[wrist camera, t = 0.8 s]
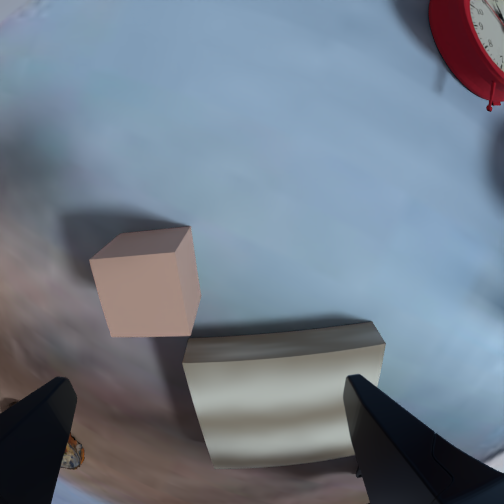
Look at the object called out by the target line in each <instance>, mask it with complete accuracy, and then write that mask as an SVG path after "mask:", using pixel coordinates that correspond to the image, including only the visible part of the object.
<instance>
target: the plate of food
mask: <svg viewBox="0 0 504 504" xmlns="http://www.w3.org/2000/svg"><path fill="white" fill-rule="evenodd" d="M16 403H17V402H13V403H11V404H9V407H11V406H13V405H14V404H16ZM84 458H85V457H84V449H83V448H82V445H81V444H78V443H77V440H76V441H74V439H73V438H72V437H71V432H70V436H69V440H68V443H67V446H66V450H65V453H64V456H63V460H62V463H61V468H67V469H73V470H74V469H77V468H78V467H80V465H81V464H82V463H83V461H84Z"/></svg>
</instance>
